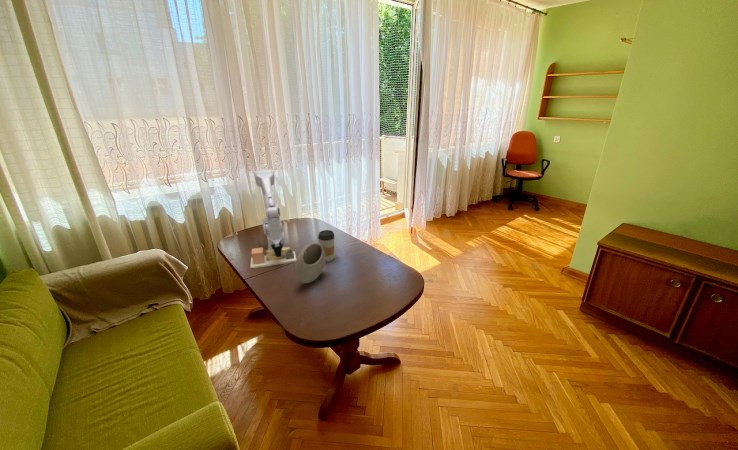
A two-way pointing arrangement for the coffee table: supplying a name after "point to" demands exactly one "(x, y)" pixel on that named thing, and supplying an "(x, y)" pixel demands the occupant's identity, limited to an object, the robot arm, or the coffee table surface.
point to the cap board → (288, 259)
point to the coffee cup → (327, 243)
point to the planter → (310, 263)
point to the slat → (272, 256)
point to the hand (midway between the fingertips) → (278, 253)
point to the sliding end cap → (258, 255)
